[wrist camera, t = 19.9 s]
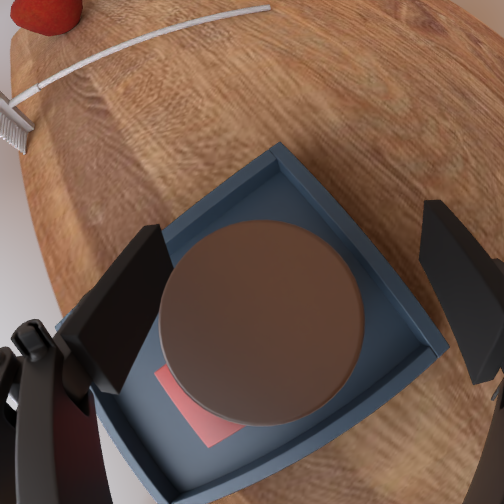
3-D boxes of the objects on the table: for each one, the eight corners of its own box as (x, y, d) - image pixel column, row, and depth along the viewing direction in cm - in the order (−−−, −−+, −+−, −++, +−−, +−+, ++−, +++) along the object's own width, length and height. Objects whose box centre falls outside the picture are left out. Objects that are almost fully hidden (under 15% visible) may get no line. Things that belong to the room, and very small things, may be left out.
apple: (48, 32, 34) (10, -9, 22) (101, -4, 32) (66, -52, 21) (37, 64, 30) (-11, 18, 19) (98, 21, 29) (54, -37, 18)
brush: (280, 62, 26) (286, -14, 17) (24, 155, 25) (-30, 113, 16) (266, 39, 27) (269, -33, 18) (26, 128, 26) (-22, 83, 17)
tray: (284, 161, 18) (279, 140, 16) (434, 345, 14) (450, 346, 12) (76, 328, 19) (54, 326, 17) (183, 501, 15) (168, 517, 13)
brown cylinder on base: (300, 270, 16) (253, 142, 5) (355, 337, 15) (447, 362, 4) (177, 367, 16) (-11, 397, 5) (225, 432, 15) (83, 552, 4)
